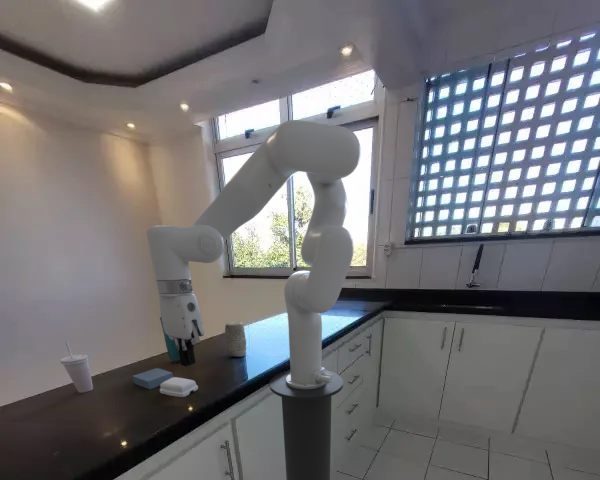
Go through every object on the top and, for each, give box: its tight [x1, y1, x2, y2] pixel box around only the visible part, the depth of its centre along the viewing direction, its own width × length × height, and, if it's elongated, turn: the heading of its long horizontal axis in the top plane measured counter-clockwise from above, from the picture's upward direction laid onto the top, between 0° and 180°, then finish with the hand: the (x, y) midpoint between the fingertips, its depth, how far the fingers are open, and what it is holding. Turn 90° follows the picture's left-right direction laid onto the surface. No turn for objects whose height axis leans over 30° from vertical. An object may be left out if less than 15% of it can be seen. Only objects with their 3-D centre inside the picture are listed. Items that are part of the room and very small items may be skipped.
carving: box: [224, 321, 247, 358], centre depth 111 cm, size 6×8×12 cm
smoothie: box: [59, 341, 94, 394], centre depth 86 cm, size 6×6×14 cm
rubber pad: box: [132, 367, 174, 390], centre depth 92 cm, size 8×8×2 cm
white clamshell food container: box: [159, 376, 199, 398], centre depth 86 cm, size 9×7×3 cm
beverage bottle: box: [159, 316, 180, 361], centre depth 105 cm, size 6×7×20 cm
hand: (188, 364), depth 78 cm, fingers closed
